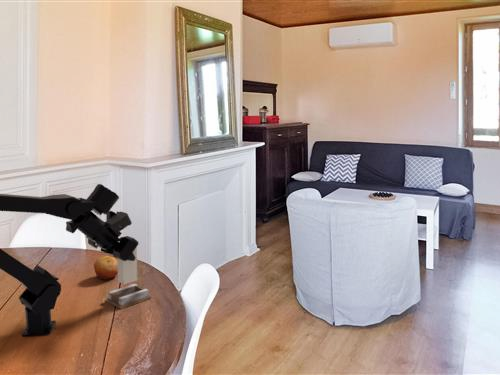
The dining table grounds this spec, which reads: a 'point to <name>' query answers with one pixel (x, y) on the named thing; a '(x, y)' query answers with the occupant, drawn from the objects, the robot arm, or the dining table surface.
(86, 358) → the dining table surface
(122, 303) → the track
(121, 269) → the tall cream box
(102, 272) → the fruit
